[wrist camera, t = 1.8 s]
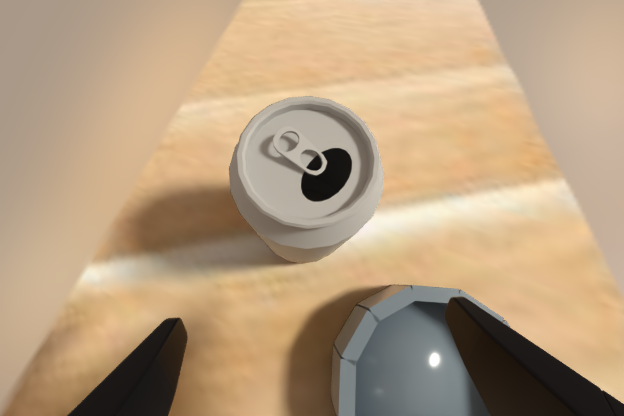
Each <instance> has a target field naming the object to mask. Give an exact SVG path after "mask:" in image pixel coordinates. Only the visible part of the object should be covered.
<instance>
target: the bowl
mask: <svg viewBox="0 0 624 416" xmlns="http://www.w3.org/2000/svg"><path fill="white" fill-rule="evenodd" d="M457 296H463V297H465V298H467V299H468V300H470V301H471V302H473V303H474V304H476V305H477V306H479V307H480V308H482V309H483V310H485V311H486V312H488V313H489V314H491V315H492V316H494V317H495V318H497V319H498V320H500V321H501V322H503V323H504V324H506V325H507V326H509V325H508V323H507V321H506V320H503V319H504V318H503V317H501V316H500V315H498V314H497V313H495V312H494V311H492V310H491V309H489V308H488V307H486V306H485V305H483V304H482V303H480V302H479V301H477V300H476V299H474V298H473V297H471V296H469V295H468V294H466V293H465V292H463V291H462V290H459V289H452V288H440V287H427V286H414V285H391V286H389V287H387V288H385V289H383V290H382V291H380V292H378V293H376V294H374V295H372V296H371V297H369V298H367V299H365V300H363V301H361V302H359V303H358V306H357V305H356V306H355V307H354V309H353V311H352V312H351V314H350V316H349V318H348V319H347V321H346V323H345V325H344V326H343V328H342V330H341V331H340V333H339V335H338V337H337V338H336V340H335V342H334V344H335V345H333V358H332V380H331V399H332V402H333V406H334V409H335V413H336V416H490V414H489V412H488V410H487V408H486V406H485V404H484V402H483V400H482V398H481V396H480V395H479V393H478V391H477V389H476V387H475V385H474V383H473V381H472V379H471V377H470V375H469V373H468V371H467V369H466V367H465V365H464V363H463V361H462V359H461V356H460V354H459V351H458V349H457V347H456V344H455V342H454V339H453V337H452V335H451V332H450V330H449V327H448V325H447V322H446V320H445V315H444V314H445V310H446V307H447V304H448V302H449V299H450V298H451V297H457ZM509 327H510V326H509Z"/></svg>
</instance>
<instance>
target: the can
mask: <svg viewBox="0 0 624 416" xmlns="http://www.w3.org/2000/svg"><path fill="white" fill-rule="evenodd" d="M229 176H230V191H231V194H232V196H233V199H234V201H235V203H236V205H237V208H238V210H239V212H240V214H241V215H242V216H243V218H244V219H245V220H246V221H247V222H248V223H249V225H250V226H251V227H252V228H253V229H254V230H255V232H256V233H257V234H258V235H259V236H260V237H261V239H262V240H263V241H264V242H265V243H266V244H267V245H268V246H269V247H270V249H271V250H272V251H273V252H274V253H275V254H277V255H279V256H280V257H282V258H284V259H286V260H288V261H293V262H298V263H307V262H314V261H318V260H320V259H322V258H324V257H326V256H328V255H330V254H331V253H332V252H334V251H335V250H336V249H337V248H339V247H340V246H341V245H342V244H344V243H345V242H346V241H347V240H349V239H350V238H351V237H352V236H354V235H355V234H356V233H357V232H358V231H359V230H360V229H361V228H362V227H363V226H364V225H365V224H366V223H367V222H368V221H369V220H370V219H371V218H372V216H373V214H374V212H375V210H376V208H377V206H378V203H379V201H380V199H381V197H382V191H383V180H384V171H383V167H382V163H381V158H380V154H379V150H378V146H377V141H376V139H375V137H374V136H373V134H372V132H371V131H370V129H369V128H368V126H367V124H366V123H365V122H364V121H363V120H362V119H361V118H360V117H359V116H357V115H356V114H355V113H354V112H353V111H352V110H350V109H349V108H347V107H345V106H343V105H341V104H339V103H336V102H334V101H332V100H329V99H324V98H318V97H312V96H305V97H293V98H287V99H284V100H282V101H279V102H276V103H274V104H271V105H269V106H267V107H266V108H265V109H263V110H262V111H261V112H259V113H258V114H257V115H256V116H254V117H253V118H252V119H251V121H250V122H249V124H248V125H247V126H246V128H245V129H244V131H243V132H242V133H241V135H240V139H239V142H238V144H237V145H236V147H235V150H234V153H233V156H232V160H231V163H230V167H229Z"/></svg>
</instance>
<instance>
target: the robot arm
mask: <svg viewBox="0 0 624 416" xmlns="http://www.w3.org/2000/svg"><path fill="white" fill-rule="evenodd" d="M444 315H445V320H446V322H447V325H448V327H449V330H450V332H451V335H452V337H453V339H454V342H455V344H456V347H457V349H458V351H459V354H460V356H461V359H462V361H463V363H464V365H465V367H466V369H467V371H468V373H469V375H470V377H471V379H472V381H473V383H474V385H475V387H476V389H477V391H478V393H479V395H480V396H481V398H482V400H483V402H484V404H485V406H486V408H487V410H488V412H489V414H490V416H624V404H623V403H621V402H620V401H618V400H617V399H615V398H614V397H612V396H611V395H609V394H608V393H606V392H605V391H601V389H600V388H599V387H597V386H596V385H594V384H593V383H592V382H590V381H589V380H587V379H586V378H584V377H583V376H581V375H580V374H578V373H577V372H575V371H574V370H572V369H571V368H569V367H568V366H566V365H565V364H563V363H562V362H560V361H559V360H557V359H556V358H554V357H553V356H551V355H550V354H549V353H547V352H546V351H544V350H543V349H541V348H540V347H538V346H537V345H535V344H534V343H532V342H531V341H529V340H528V339H526V338H525V337H523V336H522V335H520V334H519V333H517V332H516V331H514V330H513V329H511V328H510V327H509V326H507V325H506V324H504V323H503V322H501V321H500V320H498V319H497V318H495V317H494V316H492V315H491V314H489V313H488V312H486V311H485V310H483V309H482V308H480V307H479V306H477V305H476V304H474V303H473V302H471V301H470V300H468V299H467V298H465V297H463V296H457V297H451V298H450V299H449V302H448V304H447V307H446V310H445V314H444ZM186 343H187V332H186V329H185V327H184V324H183V322H182V319H181V318H168V319H166V320H164V321H163V322H162V323H161V324H160V325H159V326H158V327H157V328H156V329H155V330H154V331H153V332H152V333H151V334H150V335H149V336H148V337H147V338H146V339H145V340H144V341H143V342H142V343H141V344H140V345H139V346H138V347H137V348H136V349H135V350H134V351H133V352H132V353H131V354H130V355H129V356H128V357H127V358H126V359H124V360H123V361H122V362H121V363H120V364H119V365H118V366H117V367H116V368H115V369H114V370H113V371H112V372H111V373H110V374H109V375H108V376H107V377H106V378H105V379H104V380H103V381H102V382H101V383H100V384H99V385H98V386H97V387H96V388H95V389H94V390H93V391H92V392H91V393H90V394H89V395H88V396H87V397H86V398H85V399H84V400H83V401H82V402H81V403H80V404H79V405H78V406H77V407H76V408H75V409H74V410H73V411H72V412H71V413H70V414H69V415H68V416H168V414H169V411H170V408H171V405H172V402H173V399H174V395H175V392H176V388H177V384H178V379H179V375H180V370H181V366H182V361H183V357H184V352H185V348H186Z"/></svg>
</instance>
